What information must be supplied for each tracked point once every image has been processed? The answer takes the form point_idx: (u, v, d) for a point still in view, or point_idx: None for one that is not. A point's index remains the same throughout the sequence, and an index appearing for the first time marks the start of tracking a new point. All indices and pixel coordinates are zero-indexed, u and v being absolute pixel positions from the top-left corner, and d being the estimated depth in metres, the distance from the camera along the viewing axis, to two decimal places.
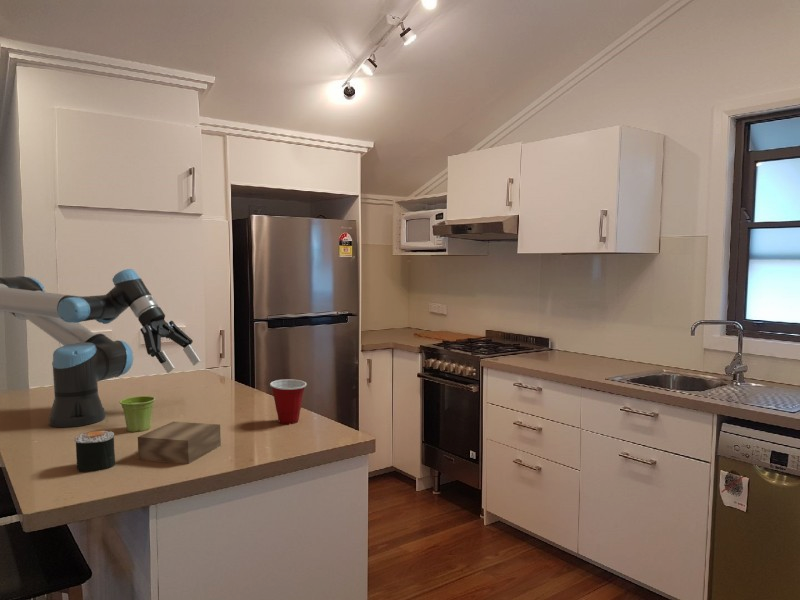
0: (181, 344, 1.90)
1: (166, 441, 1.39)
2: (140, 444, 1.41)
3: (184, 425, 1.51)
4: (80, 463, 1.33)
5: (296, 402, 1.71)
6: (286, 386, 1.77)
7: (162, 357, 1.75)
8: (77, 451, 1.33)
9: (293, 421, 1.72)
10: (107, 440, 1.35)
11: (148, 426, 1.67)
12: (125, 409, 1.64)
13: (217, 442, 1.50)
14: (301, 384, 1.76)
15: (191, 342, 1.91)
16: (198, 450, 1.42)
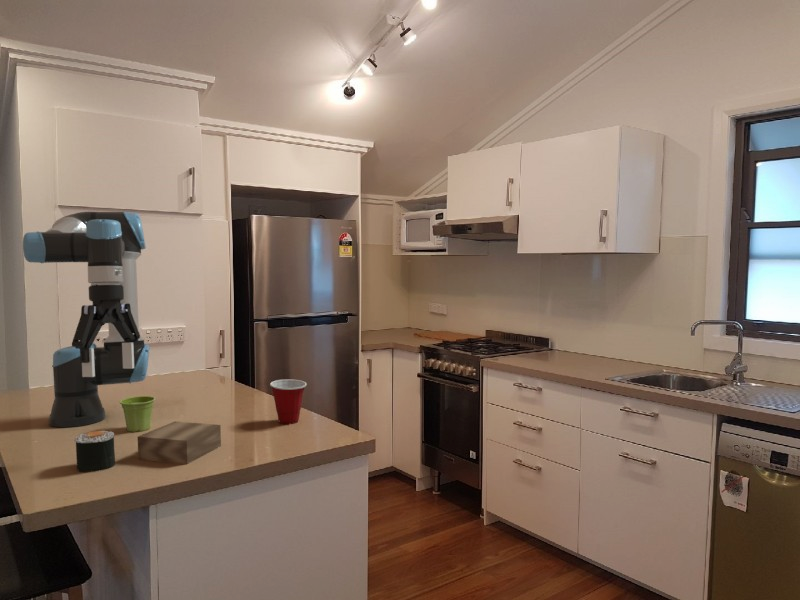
0: (123, 337, 1.45)
1: (165, 441, 1.39)
2: (140, 444, 1.41)
3: (185, 425, 1.51)
4: (80, 463, 1.33)
5: (296, 402, 1.71)
6: (286, 386, 1.77)
7: (87, 357, 1.31)
8: (77, 451, 1.33)
9: (293, 421, 1.72)
10: (107, 440, 1.35)
11: (148, 426, 1.67)
12: (125, 409, 1.64)
13: (217, 443, 1.50)
14: (301, 384, 1.76)
15: (136, 340, 1.47)
16: (197, 450, 1.41)
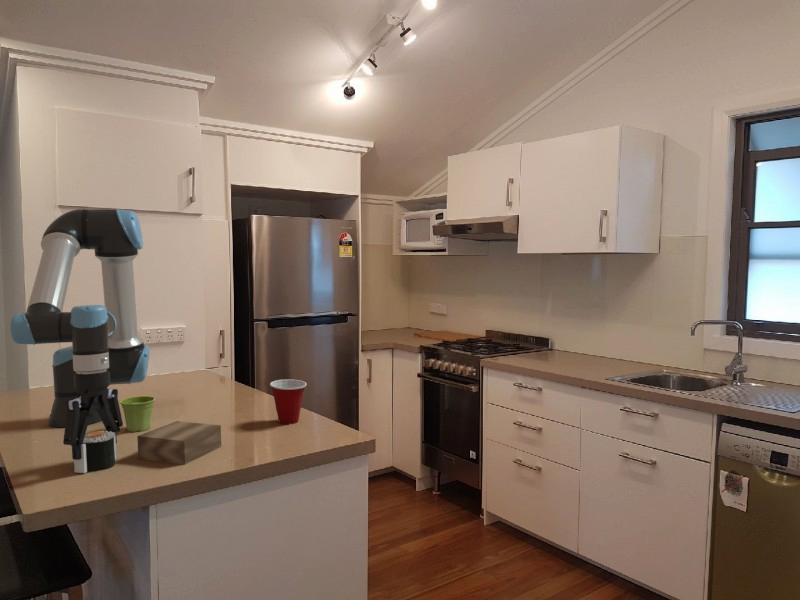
0: (106, 425, 1.41)
1: (164, 440, 1.39)
2: (140, 443, 1.42)
3: (186, 425, 1.51)
4: None
5: (296, 402, 1.71)
6: (286, 386, 1.77)
7: (79, 454, 1.31)
8: None
9: (293, 421, 1.72)
10: (107, 440, 1.35)
11: (148, 426, 1.67)
12: (125, 409, 1.64)
13: (218, 443, 1.49)
14: (301, 384, 1.76)
15: (118, 430, 1.42)
16: (195, 450, 1.41)
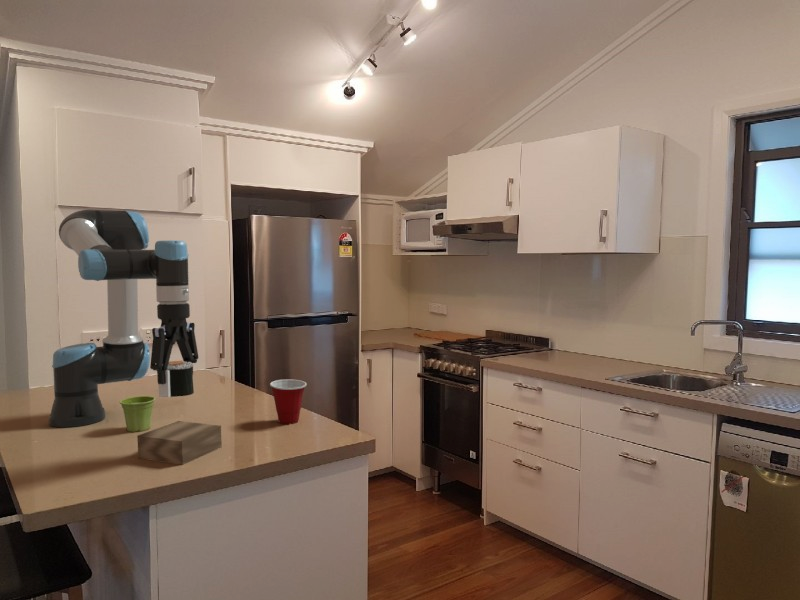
0: (184, 356, 1.49)
1: (163, 440, 1.39)
2: (139, 443, 1.42)
3: (187, 425, 1.51)
4: None
5: (296, 402, 1.71)
6: (286, 386, 1.77)
7: (163, 378, 1.39)
8: None
9: (293, 421, 1.72)
10: (188, 368, 1.43)
11: (148, 426, 1.67)
12: (125, 409, 1.64)
13: (218, 444, 1.49)
14: (301, 384, 1.76)
15: (195, 362, 1.50)
16: (194, 451, 1.41)
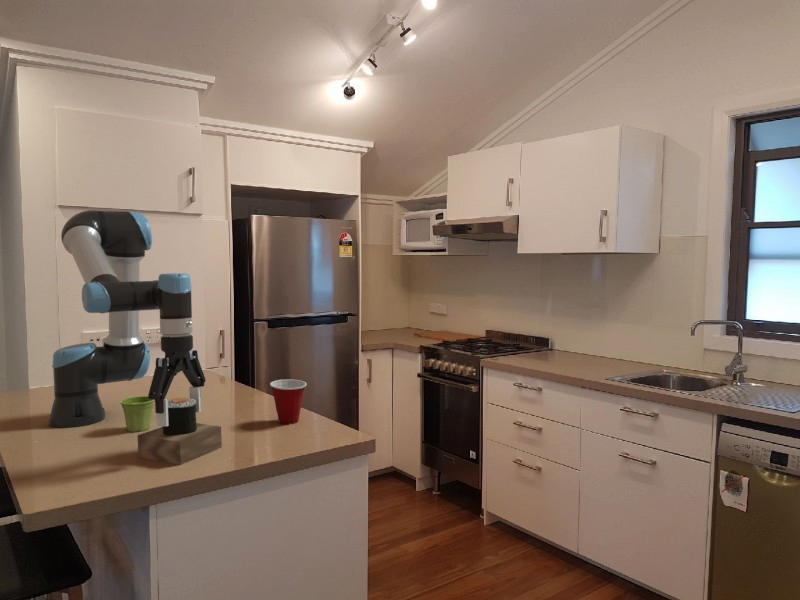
0: (191, 382, 1.52)
1: (161, 441, 1.39)
2: (139, 442, 1.43)
3: None
4: (167, 426, 1.42)
5: (296, 402, 1.71)
6: (286, 386, 1.77)
7: (161, 408, 1.38)
8: None
9: (293, 421, 1.72)
10: (191, 406, 1.44)
11: (148, 426, 1.67)
12: (125, 409, 1.64)
13: (217, 444, 1.49)
14: (301, 384, 1.76)
15: (203, 385, 1.53)
16: (192, 451, 1.41)
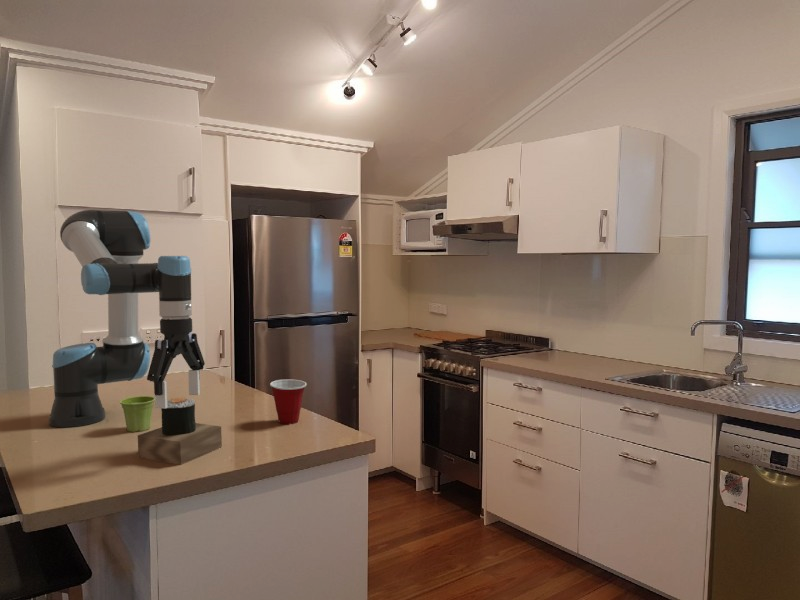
0: (190, 365, 1.51)
1: (162, 441, 1.39)
2: (140, 442, 1.43)
3: None
4: (166, 426, 1.42)
5: (296, 402, 1.71)
6: (286, 386, 1.77)
7: (160, 390, 1.38)
8: (163, 416, 1.42)
9: (293, 421, 1.72)
10: (190, 406, 1.44)
11: (148, 426, 1.67)
12: (125, 409, 1.64)
13: (218, 444, 1.49)
14: (301, 384, 1.76)
15: (202, 368, 1.53)
16: (193, 451, 1.41)
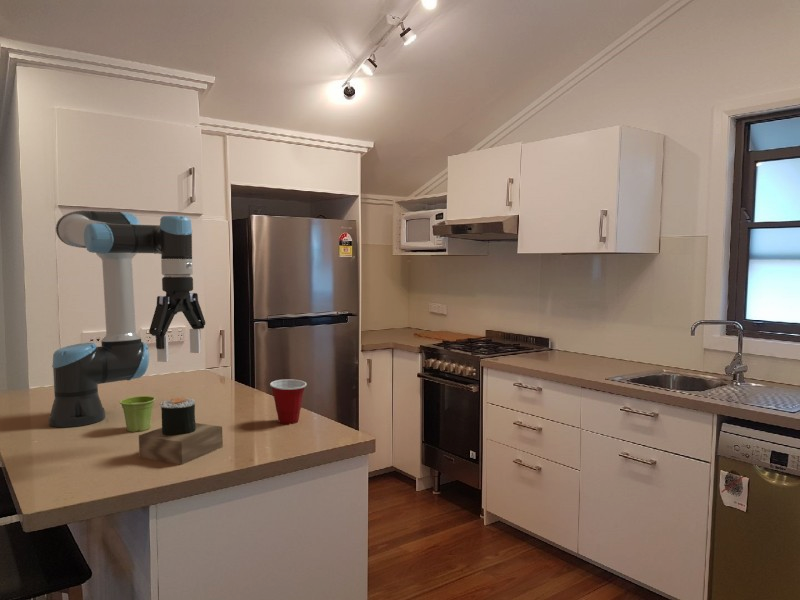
0: (191, 323, 1.57)
1: (163, 441, 1.40)
2: (141, 443, 1.43)
3: None
4: (166, 427, 1.42)
5: (296, 402, 1.71)
6: (286, 386, 1.77)
7: (162, 343, 1.43)
8: (163, 416, 1.43)
9: (293, 421, 1.72)
10: (190, 406, 1.44)
11: (148, 426, 1.67)
12: (125, 409, 1.64)
13: (219, 444, 1.49)
14: (301, 384, 1.76)
15: (202, 327, 1.58)
16: (194, 451, 1.41)
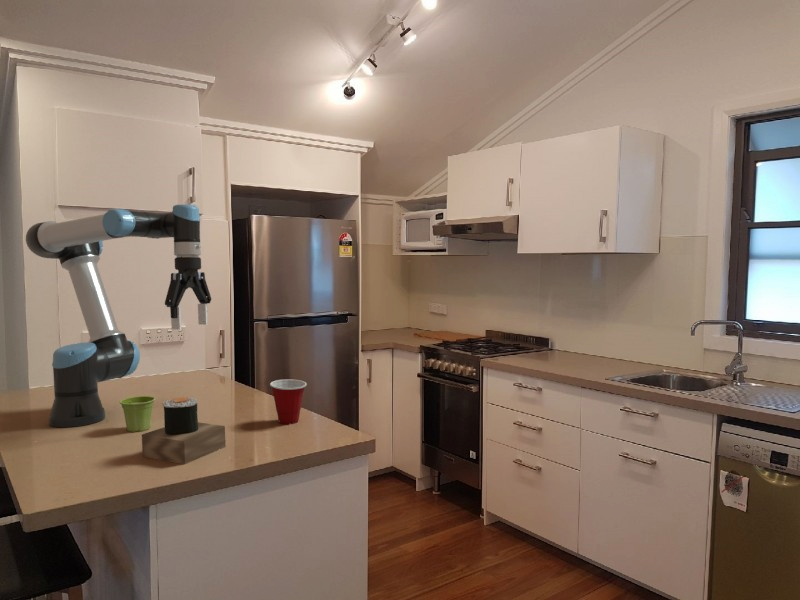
0: (199, 299, 1.81)
1: (166, 440, 1.40)
2: (144, 442, 1.43)
3: None
4: (169, 426, 1.43)
5: (296, 402, 1.71)
6: (286, 386, 1.77)
7: (175, 313, 1.67)
8: (165, 415, 1.43)
9: (293, 421, 1.72)
10: (192, 405, 1.44)
11: (148, 426, 1.67)
12: (125, 409, 1.64)
13: (221, 444, 1.49)
14: (301, 384, 1.76)
15: (209, 302, 1.82)
16: (196, 450, 1.41)
